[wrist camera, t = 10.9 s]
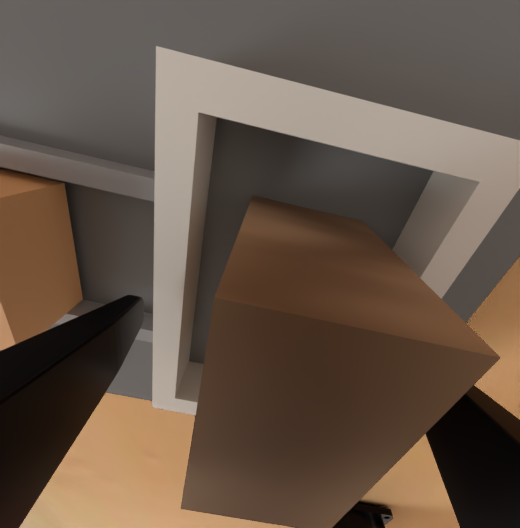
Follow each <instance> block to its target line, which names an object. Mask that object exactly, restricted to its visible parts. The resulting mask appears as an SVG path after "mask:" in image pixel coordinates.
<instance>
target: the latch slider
mask: <svg viewBox="0 0 520 528" xmlns="http://www.w3.org/2000/svg"><path fill="white" fill-rule="evenodd" d="M81 300H83V297H82V290H81V284H80V278H79V272H78V265H77V259H76V253H75V246H74V240H73V234H72V228H71V221H70V215H69V209H68V203H67V196H66V190H65V184H64V183H63V182H58V181H54V180H49V179H45V178H41V177H36V176H32V175H27V174H23V173H18V172H14V171H10V170H5V169H1V168H0V350H3V349H6V348H8V347H10V346H12V345H15V344H17V343H19V342H22V341H24V340H26V339H28V338H31V337H33V336H35V335H37V334H40V333H42V332H44V331H46V330H48V329H49V328H50V327H51V326H52V325H53V324H55V323H56V322H57V321H58V320H59V319H60V318H62V317H63V316H64V315H65V314H66V313H67V312H69V311H70V310H71V309H72V308H73V307H74V306H76V305H77V304H78V303H79V302H80V301H81Z"/></svg>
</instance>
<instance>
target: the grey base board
mask: <svg viewBox="0 0 520 528" xmlns="http://www.w3.org/2000/svg"><path fill="white" fill-rule="evenodd" d="M0 168H1V169H5V170H10V171H14V172H18V173H23V174H27V175H32V176H36V177H41V178H45V179H49V180H54V181H58V182H63V183H64V184H65V190H66V196H67V203H68V209H69V215H70V221H71V228H72V234H73V240H74V246H75V253H76V259H77V265H78V272H79V278H80V284H81V290H82V297H83V300H81V301H80V302H79V303H78V304H77V305H76V306H74V307H73V308H72V309H71V310H70V311H69V312H67V313H66V314H65V315H64V316H63V317H62V318H60V319H59V320H58V321H57V322H56V323H55V324H53V325H52V326H51V327H50V328H49V329H51V328H53V327H56V326H58V325H60V324H62V323H65V322H67V321H69V320H72V319H74V318H76V317H78V316H81V315H83V314H85V313H87V312H90V311H92V310H94V309H97V308H99V307H101V306H103V305H106V304H108V303H110V302H112V301H115V300H117V299H119V298H122V297H124V296H126V295H135V296H140V297H142V298H143V300H144V321H143V324H142V326H141V328H140V330H139V332H138V334H137V336H136V338H135V340H134V342H133V344H132V346H131V348H130V350H129V352H128V354H127V356H126V358H125V360H124V362H123V364H122V366H121V368H120V370H119V372H118V373H117V375H116V377H115V378H114V380H113V382H112V383H111V385H110V386H109V388H108V389H107V391H106V393H112V394H117V395H123V396H128V397H133V398H139V399H144V400H150V401H152V407H153V408H158V409H164V410H169V411H175V412H180V413H186V414H191V415H196V410H197V403H198V397H199V391H200V385H201V378H202V372H203V366H204V359H205V353H206V347H207V341H208V334H209V328H210V322H211V315H212V309H213V303H214V297H215V294H216V292H217V289H218V286H219V284H220V281H221V278H222V276H223V273H224V270H225V268H226V265H227V262H228V260H229V257H230V254H231V252H232V249H233V246H234V244H235V241H236V238H237V236H238V233H239V230H240V228H241V225H242V222H243V220H244V217H245V214H246V212H247V209H248V206H249V204H250V201H251V198H252V196H258V197H262V198H266V199H270V200H275V201H279V202H283V203H288V204H292V205H296V206H300V207H305V208H309V209H313V210H317V211H322V212H326V213H330V214H334V215H339V216H343V217H347V218H352V219H356V220H360V221H363V222H364V223H365V224H366V225H367V226H368V227H369V228H370V229H371V230H372V231H373V232H374V233H375V234H376V235H377V236H378V237H379V238H380V239H382V240H383V241H384V242H385V243H386V244H387V245H388V246H389V247H390V248H391V249H392V250H393V251H394V252H395V253H396V254H397V255H398V256H399V257H400V258H401V259H402V260H403V261H404V262H405V263H406V264H407V265H408V266H409V267H410V268H411V269H412V270H413V271H414V272H415V273H416V274H417V275H418V276H419V277H420V278H421V279H422V280H423V281H424V282H425V283H426V284H427V285H428V286H429V287H430V288H431V289H432V290H433V291H434V292H435V293H436V294H437V295H438V296H439V297H440V298H441V299H442V300H443V301H444V302H445V303H446V304H447V305H448V306H449V307H450V308H451V309H452V310H453V311H454V312H455V313H456V314H457V315H458V316H459V317H460V318H461V319H462V320H463V321H464V322H465V323H466V322H467V321H468V319H469V318H470V317H471V316H472V314H473V313H474V312H475V311H476V309H477V308H478V307H479V306H480V305H481V303H482V302H483V301H484V300H485V298H486V297H487V296H488V295H489V293H490V292H491V291H492V290H493V288H494V287H495V286H496V285H497V284H498V282H499V281H500V280H501V279H502V277H503V276H504V275H505V274H506V272H507V271H508V270H509V269H510V268H511V266H512V265H513V264H514V263H515V261H516V260H517V259H518V258H519V256H520V0H0ZM49 329H48V330H49ZM46 331H47V330H46ZM0 351H1V350H0Z"/></svg>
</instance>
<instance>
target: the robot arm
mask: <svg viewBox="0 0 520 528" xmlns="http://www.w3.org/2000/svg"><path fill="white" fill-rule="evenodd" d="M143 321H144V300H143V298H142V297H140V296H135V295H126V296H124V297H122V298H119V299H117V300H115V301H112V302H110V303H108V304H106V305H103V306H101V307H99V308H97V309H94V310H92V311H90V312H87V313H85V314H83V315H81V316H78V317H76V318H74V319H72V320H69V321H67V322H65V323H62V324H60V325H58V326H56V327H53V328H51V329H49V330H47V331H44V332H42V333H40V334H37V335H35V336H33V337H31V338H28V339H26V340H24V341H22V342H19V343H17V344H15V345H12V346H10V347H8V348H6V349H3V350H1V351H0V528H19V527H20V525H21V524H22V522H23V521H24V519H25V518H26V516H27V514H28V513H29V511H30V510H31V508H32V507H33V505H34V504H35V502H36V500H37V499H38V497H39V496H40V494H41V493H42V491H43V489H44V488H45V486H46V485H47V483H48V482H49V480H50V479H51V477H52V475H53V474H54V472H55V471H56V469H57V468H58V466H59V464H60V463H61V461H62V460H63V458H64V457H65V455H66V453H67V452H68V450H69V449H70V447H71V446H72V444H73V443H74V441H75V439H76V438H77V436H78V435H79V433H80V432H81V430H82V428H83V427H84V425H85V424H86V422H87V421H88V419H89V418H90V416H91V414H92V413H93V411H94V410H95V408H96V407H97V405H98V403H99V402H100V400H101V399H102V397H103V396H104V394H105V393H106V391H107V389H108V388H109V386H110V385H111V383H112V382H113V380H114V378H115V377H116V375H117V373H118V372H119V370H120V368H121V366H122V364H123V362H124V360H125V358H126V356H127V354H128V352H129V350H130V348H131V346H132V344H133V342H134V340H135V338H136V336H137V334H138V332H139V330H140V328H141V326H142V324H143ZM426 436H427V439H428V442H429V444H430V447H431V450H432V452H433V455H434V458H435V461H436V463H437V466H438V469H439V471H440V474H441V477H442V480H443V482H444V485H445V488H446V490H447V493H448V496H449V499H450V501H451V504H452V507H453V509H454V512H455V515H456V518H457V520H458V523H459V526H460V528H520V420H519V419H518V418H516V417H515V416H514V415H513V414H511V413H510V412H509V411H507V410H506V409H505V408H503V407H502V406H501V405H499V404H498V403H497V402H495V401H494V400H493V399H492V398H490V397H489V396H488V395H486V394H485V393H484V392H482V391H481V390H480V389H478V388H477V387H476V386H474V385H473V386H472V387H471V388H470V389H469V390H468V391H467V392H466V393H465V394H464V395H463V396H462V397H461V398H460V399H459V400H458V401H457V402H456V403H455V404H454V405H453V406H452V407H451V408H450V409H449V410H448V411H447V412H446V413H445V414H444V415H443V416H442V417H441V418H440V419H439V420H438V421H437V422H436V423H435V424H434V425H433V426H432V427H431V428H430V429H429V430H428V431H427V432H426ZM392 519H393V515H392V512H391V510H390V509H387V508H381V507H375V506H369V505H364V504H358V503H356V504H355V505H354V506H353V507H352V508H351V509H350V510H349V511H348V512H347V513H346V514H345V515H344V516H343V517H342V518H341V519H340V520H339V521H338V522H337V523H336V524H335V525H334V526H333V527H332V528H385V524H387V523H388V522H389V521H390V520H392Z"/></svg>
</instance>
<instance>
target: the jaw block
mask: <svg viewBox="0 0 520 528" xmlns="http://www.w3.org/2000/svg"><path fill="white" fill-rule="evenodd" d="M499 359H500V357H499V356H498V355H497V354H496V353H495V352H494V351H493V350H492V349H491V348H490V347H489V346H488V345H487V344H486V343H485V342H484V341H483V340H482V339H481V338H480V337H479V336H478V335H477V334H476V333H475V332H474V331H473V330H472V329H471V328H470V327H469V326H468V325H467V324H466V323H465V322H464V321H463V320H462V319H461V318H460V317H459V316H458V315H457V314H456V313H455V312H454V311H453V310H452V309H451V308H450V307H449V306H448V305H447V304H446V303H445V302H444V301H443V300H442V299H441V298H440V297H439V296H438V295H437V294H436V293H435V292H434V291H433V290H432V289H431V288H430V287H429V286H428V285H427V284H426V283H425V282H424V281H423V280H422V279H421V278H420V277H419V276H418V275H417V274H416V273H415V272H414V271H413V270H412V269H411V268H410V267H409V266H408V265H407V264H406V263H405V262H404V261H403V260H402V259H401V258H400V257H399V256H398V255H397V254H396V253H395V252H394V251H393V250H392V249H391V248H390V247H389V246H388V245H387V244H386V243H385V242H384V241H383V240H382V239H380V238H379V237H378V236H377V235H376V234H375V233H374V232H373V231H372V230H371V229H370V228H369V227H368V226H367V225H366V224H365V223H364V222H363V221H360V220H356V219H352V218H347V217H343V216H339V215H334V214H330V213H326V212H322V211H317V210H313V209H309V208H305V207H300V206H296V205H292V204H288V203H283V202H279V201H275V200H270V199H266V198H262V197H258V196H252V198H251V201H250V204H249V206H248V209H247V212H246V214H245V217H244V220H243V222H242V225H241V228H240V230H239V233H238V236H237V238H236V241H235V244H234V246H233V249H232V252H231V254H230V257H229V260H228V262H227V265H226V268H225V270H224V273H223V276H222V278H221V281H220V284H219V286H218V289H217V292H216V294H215V297H214V303H213V309H212V315H211V322H210V328H209V334H208V341H207V347H206V353H205V359H204V366H203V372H202V378H201V385H200V391H199V397H198V403H197V410H196V416H195V422H194V429H193V435H192V441H191V447H190V454H189V460H188V466H187V473H186V479H185V485H184V491H183V498H182V504H181V509H185V510H191V511H197V512H203V513H209V514H216V515H222V516H228V517H234V518H240V519H246V520H252V521H258V522H264V523H270V524H277V525H283V526H289V527H295V528H332V527H333V526H334V525H335V524H336V523H337V522H338V521H339V520H340V519H341V518H342V517H343V516H344V515H345V514H346V513H347V512H348V511H349V510H350V509H351V508H352V507H353V506H354V505H355V504H356V503H357V502H358V501H359V500H360V499H361V498H362V497H363V496H364V495H365V494H366V493H367V492H368V491H369V490H370V489H371V488H372V487H373V486H374V485H375V484H376V483H377V482H378V481H379V480H380V479H381V478H382V477H383V476H384V475H385V474H386V473H387V472H388V471H389V470H390V469H391V468H392V467H393V466H394V465H395V464H396V463H397V462H398V461H399V460H400V459H401V458H402V457H403V456H404V455H405V454H406V453H407V452H408V451H409V450H410V449H411V448H412V447H413V446H414V445H415V444H416V443H417V442H418V441H419V440H420V439H421V437H422V436H423V435H424V434H425V433H426V432H427V431H428V430H429V429H430V428H431V427H432V426H433V425H434V424H435V423H436V422H437V421H438V420H439V419H440V418H441V417H442V416H443V415H444V414H445V413H446V412H447V411H448V410H449V409H450V408H451V407H452V406H453V405H454V404H455V403H456V402H457V401H458V400H459V399H460V398H461V397H462V396H463V395H464V394H465V393H466V392H467V391H468V390H469V389H470V388H471V387H472V386H473V385H474V384H475V383H476V382H477V381H478V380H479V379H480V378H481V377H482V376H483V375H484V374H485V373H486V372H487V371H488V370H489V369H490V368H491V367H492V366H493V365H494V364H495V363H496V362H497V361H498V360H499Z"/></svg>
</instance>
